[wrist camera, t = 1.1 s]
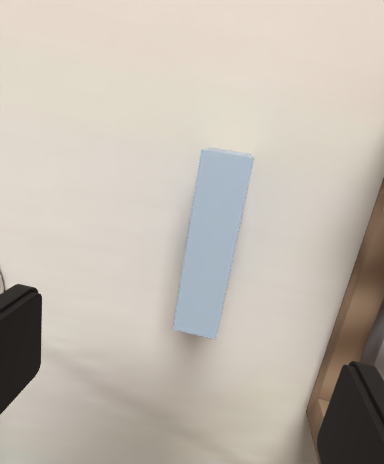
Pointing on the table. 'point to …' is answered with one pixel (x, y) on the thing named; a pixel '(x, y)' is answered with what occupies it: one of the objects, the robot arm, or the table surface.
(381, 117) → the table surface
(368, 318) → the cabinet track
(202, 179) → the door panel
